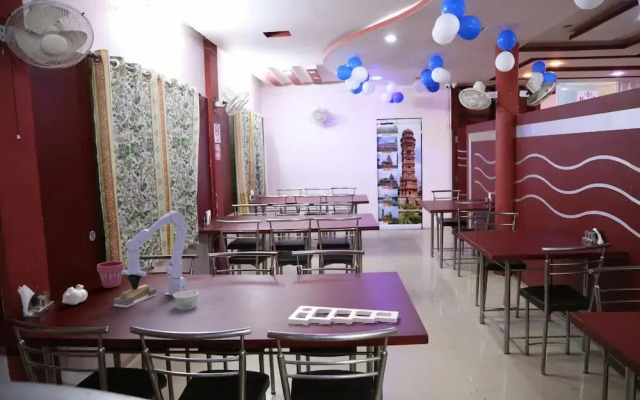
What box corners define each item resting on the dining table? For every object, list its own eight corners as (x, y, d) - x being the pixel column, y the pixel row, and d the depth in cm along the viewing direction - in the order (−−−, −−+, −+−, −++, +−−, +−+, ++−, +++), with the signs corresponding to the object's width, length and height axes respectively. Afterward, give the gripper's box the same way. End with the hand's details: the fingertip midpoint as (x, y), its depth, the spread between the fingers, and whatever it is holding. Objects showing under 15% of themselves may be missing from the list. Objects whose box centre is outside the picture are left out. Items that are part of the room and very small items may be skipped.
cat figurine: (83, 281, 245) (63, 285, 231) (95, 289, 244) (75, 294, 229) (74, 296, 246) (54, 302, 231) (86, 304, 245) (66, 310, 230)
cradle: (156, 295, 249) (155, 288, 248) (126, 307, 229) (126, 300, 229) (144, 294, 252) (143, 287, 251) (114, 306, 232) (113, 299, 232)
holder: (398, 317, 206) (398, 311, 205) (393, 332, 188) (393, 326, 188) (300, 311, 218) (300, 305, 217) (287, 325, 200) (287, 318, 200)
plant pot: (130, 284, 273) (128, 262, 272) (108, 290, 261) (106, 267, 260) (115, 281, 280) (113, 260, 279) (93, 287, 269) (91, 265, 267)
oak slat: (149, 294, 247) (148, 284, 247) (126, 303, 232) (126, 293, 232) (144, 293, 248) (144, 284, 248) (122, 302, 234) (121, 293, 233)
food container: (176, 312, 220) (175, 298, 219) (171, 305, 230) (170, 292, 230) (202, 308, 225) (201, 294, 225) (196, 301, 236) (195, 288, 235)
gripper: (116, 263, 237) (118, 290, 239) (139, 265, 232) (140, 292, 233) (126, 260, 244) (128, 286, 245) (149, 262, 239) (150, 288, 240)
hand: (135, 289), depth 240 cm, fingers closed, pressing on oak slat
